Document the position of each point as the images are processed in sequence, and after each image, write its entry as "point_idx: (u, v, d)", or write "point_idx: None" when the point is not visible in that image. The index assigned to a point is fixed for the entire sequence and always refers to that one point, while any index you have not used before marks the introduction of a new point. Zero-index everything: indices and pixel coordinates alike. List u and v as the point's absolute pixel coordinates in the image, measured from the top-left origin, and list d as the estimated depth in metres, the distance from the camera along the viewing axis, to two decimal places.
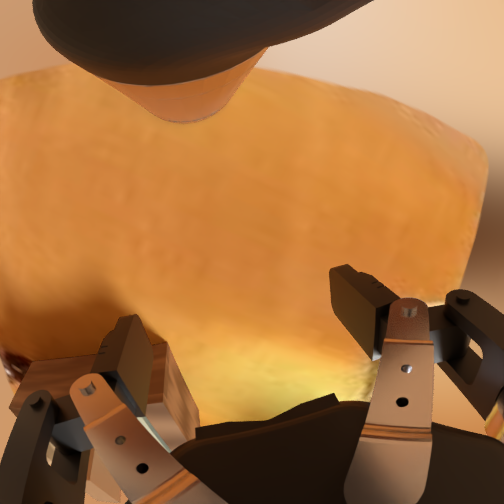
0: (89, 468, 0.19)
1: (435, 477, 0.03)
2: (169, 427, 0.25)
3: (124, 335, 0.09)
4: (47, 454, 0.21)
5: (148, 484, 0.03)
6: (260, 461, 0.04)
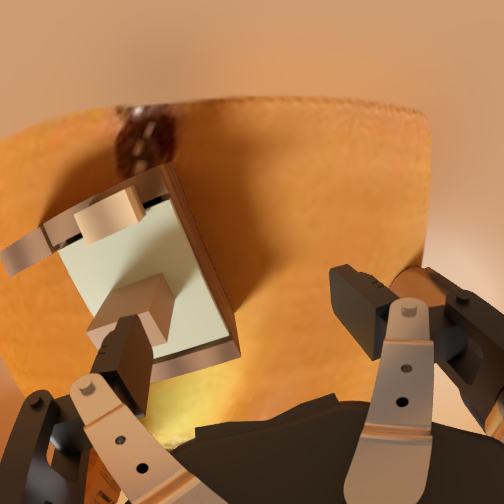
0: (167, 329, 0.22)
1: (435, 477, 0.03)
2: (203, 362, 0.30)
3: (124, 335, 0.09)
4: (108, 235, 0.22)
5: (148, 484, 0.03)
6: (260, 461, 0.04)
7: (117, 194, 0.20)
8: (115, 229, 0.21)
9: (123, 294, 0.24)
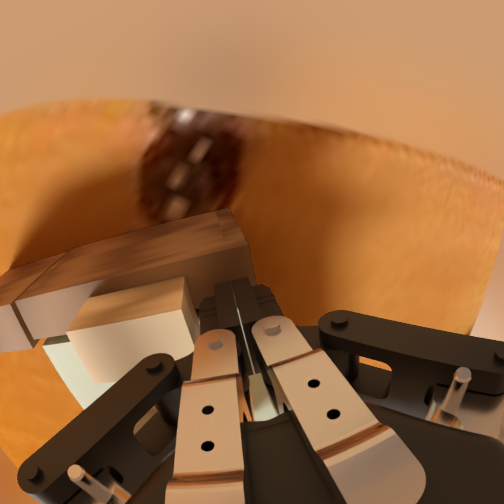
0: None
1: (435, 477, 0.03)
2: None
3: (230, 297, 0.11)
4: None
5: (200, 463, 0.04)
6: (260, 461, 0.04)
7: (163, 316, 0.10)
8: None
9: None
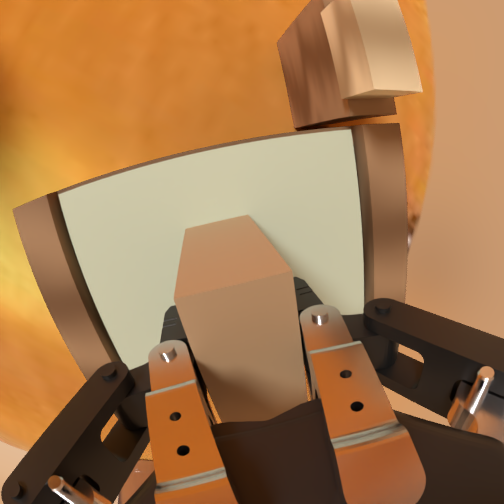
0: None
1: (435, 477, 0.03)
2: (82, 351, 0.14)
3: None
4: (354, 27, 0.09)
5: (181, 467, 0.04)
6: (260, 461, 0.04)
7: (418, 77, 0.10)
8: (369, 46, 0.09)
9: None
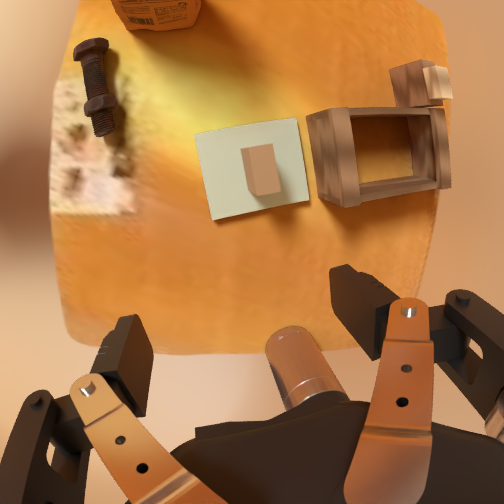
0: None
1: (435, 477, 0.03)
2: (347, 176, 0.35)
3: (124, 335, 0.09)
4: (436, 78, 0.30)
5: (147, 484, 0.03)
6: (260, 461, 0.04)
7: None
8: (440, 84, 0.30)
9: None
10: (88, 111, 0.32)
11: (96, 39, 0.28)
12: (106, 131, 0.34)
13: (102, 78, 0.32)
